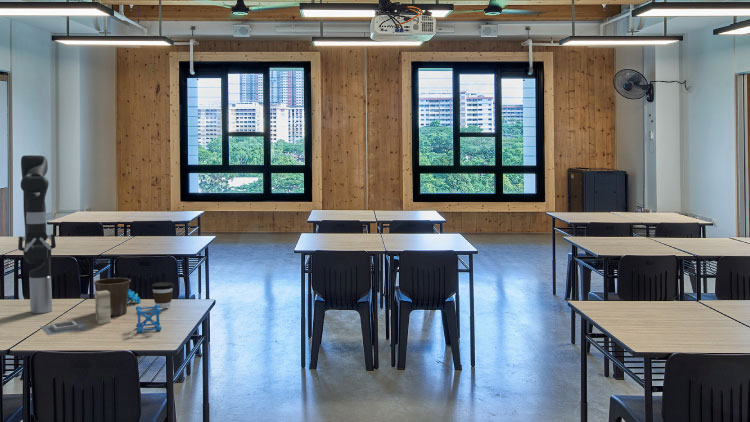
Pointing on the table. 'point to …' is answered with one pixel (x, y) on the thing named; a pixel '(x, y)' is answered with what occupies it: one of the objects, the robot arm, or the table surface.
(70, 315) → the table surface
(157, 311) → the molecular structure
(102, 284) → the plant pot
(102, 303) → the maple block
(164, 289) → the coffee cup
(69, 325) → the puzzle board
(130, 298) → the gear
